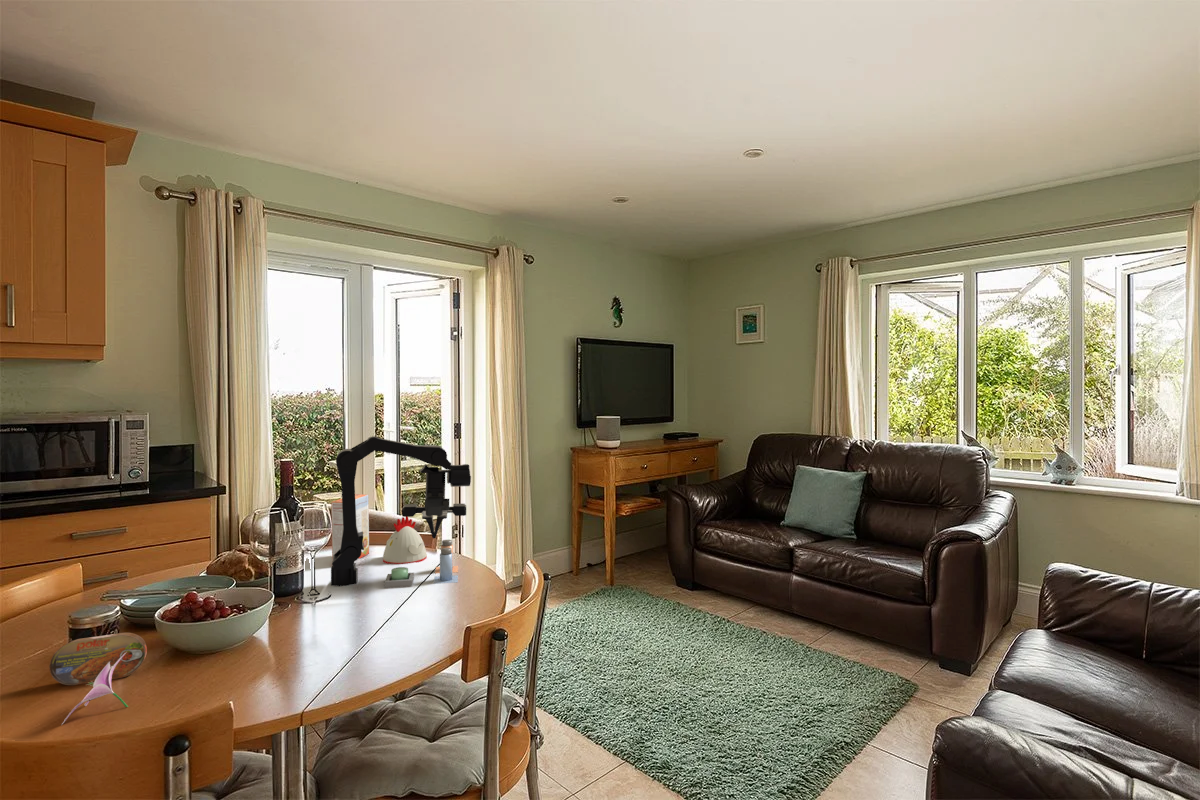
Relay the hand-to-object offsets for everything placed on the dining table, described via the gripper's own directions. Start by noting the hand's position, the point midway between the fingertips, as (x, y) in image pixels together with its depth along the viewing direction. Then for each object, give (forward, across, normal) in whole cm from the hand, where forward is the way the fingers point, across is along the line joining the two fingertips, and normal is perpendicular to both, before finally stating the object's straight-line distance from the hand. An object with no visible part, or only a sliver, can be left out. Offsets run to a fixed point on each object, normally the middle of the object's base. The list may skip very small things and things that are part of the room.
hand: (434, 538), depth 187 cm
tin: (+14, -62, -53) cm, 83 cm away
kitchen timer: (+12, -10, +19) cm, 25 cm away
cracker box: (+13, -28, +25) cm, 40 cm away
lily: (+14, -55, -67) cm, 88 cm away
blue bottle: (+11, +4, -7) cm, 13 cm away
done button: (+10, -9, -8) cm, 16 cm away
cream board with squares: (+12, -2, -2) cm, 12 cm away
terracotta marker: (+11, +4, +3) cm, 12 cm away
